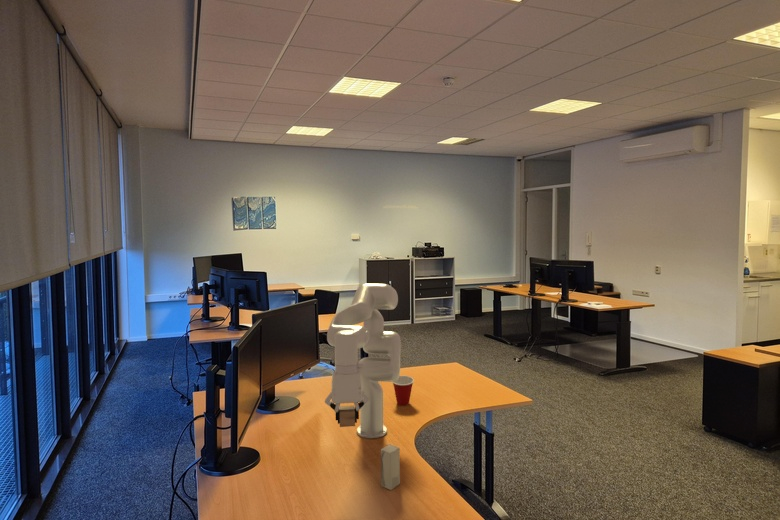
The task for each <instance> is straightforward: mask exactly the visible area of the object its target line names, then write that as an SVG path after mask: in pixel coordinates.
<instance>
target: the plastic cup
mask: <svg viewBox="0 0 780 520" xmlns="http://www.w3.org/2000/svg"><path fill="white" fill-rule="evenodd" d="M414 382H415V378H413V377H412V376H410V375H400V376H399V379H398V380H397V381H395V382H392V385H393V388H394V395H395V399H396V404H397V405H398V404H399V406H408V405H409V404H410V400H411V399H410V398H411V396H412V394H411V393H412V389H413V384H414ZM407 404H408V405H407Z"/></svg>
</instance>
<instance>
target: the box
mask: <svg viewBox="0 0 780 520" xmlns="http://www.w3.org/2000/svg"><path fill="white" fill-rule="evenodd" d="M400 452H401V451H400V447H399V446H397V445H396V446H395V445H394V444H391V443H389V444H388V445H385V446H384V447H382V448H381V449H380V482H381V483H380V486H381V487H382V488H385V489H387V490H390V491H392V490H394V488H396V487H398V486H399V485H400V483H401V475H400V474H401V469H400V468H401V466H400V465H401V463H400V462H401V461H400V460H401V459H400V454H401V453H400Z"/></svg>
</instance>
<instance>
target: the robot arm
mask: <svg viewBox="0 0 780 520" xmlns="http://www.w3.org/2000/svg"><path fill="white" fill-rule="evenodd" d="M398 302H399V296H398V292H397V290H396V289H395V288H394V287H393V286H391V285H390V284H388V283H387V284H386V283H363V284H360V285H359V286H358V287H357V289H356V291H355V293H354V296H353V298H352V301H351V303H350V306H347V307H345V308H344V309H342V310H341V311H339V312H338V313H336V314H335V315H334V316H333V318H331V321H330V324H329V327H328V329H327V333H326V341H327V343H328V344H329V345H330V346H331V347H334V371H333V372H332V375H331V389H330V390H331V391H330V393H329V394H328V395H327V397H326V398H325V400H324V403H325V404H326V405H327V406H329V407H330V408H331V409H332V410H333V411H334V412H335V421H337V424H338V425H340V411H339V406H341V404H353V406H354V408H355V424H357V423H358V420H360V421H359V422H360V425H359V426H358V427H356V434H357V435H358V436H359V437H361V438H364V439H378V438H382V437H384V436H385V435H386V434H387V433H388V427H386V425H384V391H383V390H384V389H383V388H382V385H381V384H380V383H379V382H384V383H385V382H387V383H393V382H395V381H397V380H398V379H399V376H401V352H402V347H401V346H402V343H401V342H402V341H401V337H400V334H399V333H398V332H396V331H393V330H392V331H391V330H389V331H388V330H384V326H385V325H384V324H385V320H384V319H385V318H384V317H383V315H382V314H381V312H380V311H379V310H387V311H388V310H389V311H391V310H394V309H396V307H397V306H398V304H399V303H398ZM361 323H363V325H359V324H361ZM357 324H358V325H357ZM359 349H363V351H364V352H365V353H366V354H369V355H370V354H372V355H386V356H388V357H378V356H376V357H375V356H374V357H373V356H372V357H371V356H367V357H362V358H361V359H360V360H359V356H358V355H359V352H358V351H359ZM359 418H360V419H359Z"/></svg>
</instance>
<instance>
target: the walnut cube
mask: <svg viewBox="0 0 780 520" xmlns="http://www.w3.org/2000/svg"><path fill="white" fill-rule="evenodd" d="M339 411H340V423H339V428H345V427H356V423H355V405H340V406H339Z"/></svg>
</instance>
